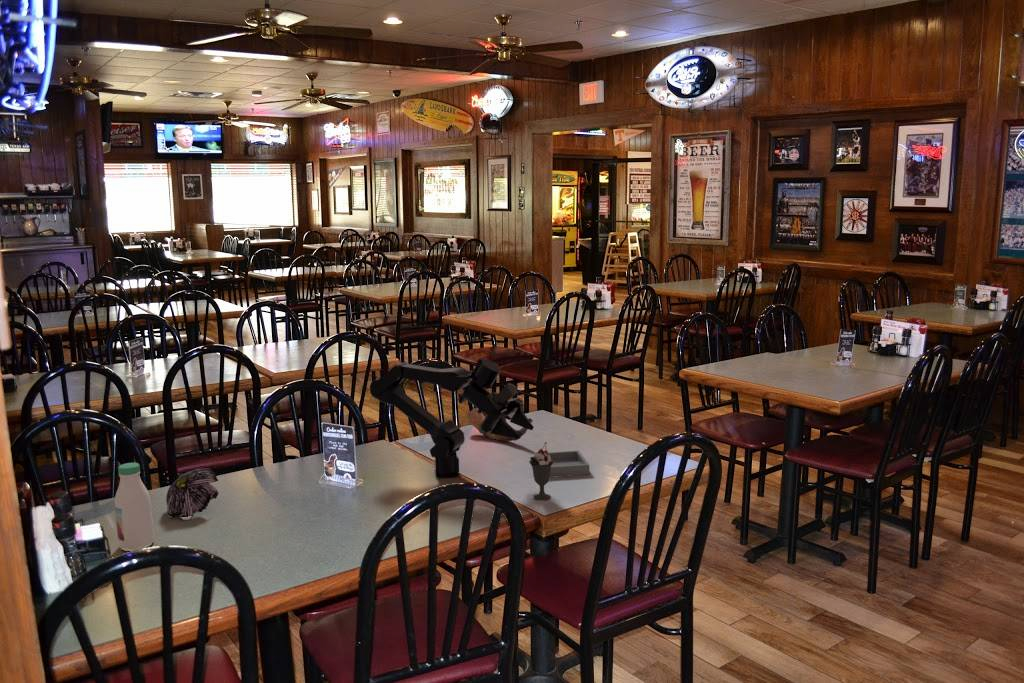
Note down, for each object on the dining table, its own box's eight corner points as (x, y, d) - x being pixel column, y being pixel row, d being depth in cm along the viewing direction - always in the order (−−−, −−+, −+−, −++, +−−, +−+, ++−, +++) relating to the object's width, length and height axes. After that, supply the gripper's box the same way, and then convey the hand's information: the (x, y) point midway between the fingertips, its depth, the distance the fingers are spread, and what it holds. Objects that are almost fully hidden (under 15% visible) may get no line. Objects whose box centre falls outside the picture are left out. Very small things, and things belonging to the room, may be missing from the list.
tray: (543, 477, 238) (543, 467, 238) (534, 462, 252) (534, 453, 251) (589, 474, 240) (589, 464, 240) (578, 459, 253) (578, 450, 253)
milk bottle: (159, 538, 201) (151, 459, 197) (147, 552, 193) (138, 470, 190) (127, 539, 201) (119, 460, 197) (113, 553, 193) (104, 471, 189)
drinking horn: (475, 430, 287) (474, 402, 285) (538, 447, 267) (537, 417, 265) (464, 433, 283) (463, 405, 281) (526, 451, 263) (526, 420, 261)
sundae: (554, 493, 226) (554, 440, 223) (553, 502, 219) (553, 447, 217) (530, 492, 227) (530, 439, 224) (528, 501, 220) (528, 447, 217)
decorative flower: (146, 477, 216) (201, 450, 223) (159, 509, 222) (213, 482, 230) (166, 506, 206) (222, 477, 214) (179, 539, 212) (234, 510, 220)
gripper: (481, 384, 222) (527, 419, 218) (510, 370, 239) (553, 402, 235) (462, 416, 226) (507, 451, 222) (492, 400, 243) (534, 432, 239)
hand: (526, 433), depth 230 cm, fingers open, 9 cm apart
